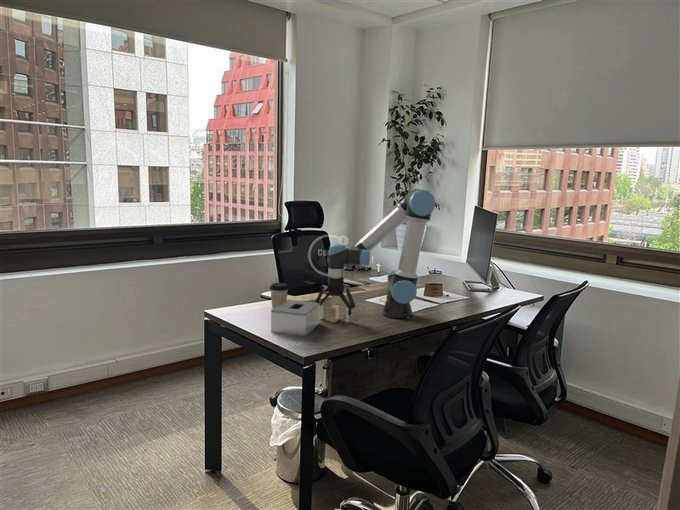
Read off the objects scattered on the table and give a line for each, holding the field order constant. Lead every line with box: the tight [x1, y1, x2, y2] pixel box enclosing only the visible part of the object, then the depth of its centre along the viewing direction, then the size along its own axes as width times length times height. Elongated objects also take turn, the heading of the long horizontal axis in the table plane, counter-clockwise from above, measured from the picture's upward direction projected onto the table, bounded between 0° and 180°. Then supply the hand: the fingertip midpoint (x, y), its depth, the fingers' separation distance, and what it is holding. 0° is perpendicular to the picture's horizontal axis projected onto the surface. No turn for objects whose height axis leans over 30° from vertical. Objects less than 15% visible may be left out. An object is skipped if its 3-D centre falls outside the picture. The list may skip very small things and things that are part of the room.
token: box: [329, 304, 340, 323], centre depth 238 cm, size 2×6×7 cm, turn 164°
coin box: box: [270, 299, 321, 337], centre depth 224 cm, size 16×20×10 cm
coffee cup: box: [269, 282, 290, 310], centre depth 245 cm, size 9×9×15 cm
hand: (334, 320), depth 239 cm, fingers open, 12 cm apart
